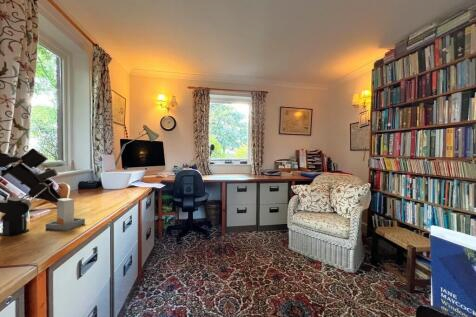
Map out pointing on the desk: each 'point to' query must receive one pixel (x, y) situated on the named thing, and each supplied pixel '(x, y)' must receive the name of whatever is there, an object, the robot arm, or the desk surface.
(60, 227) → the tray
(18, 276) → the desk surface
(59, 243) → the desk surface
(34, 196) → the robot arm
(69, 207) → the skincare box
